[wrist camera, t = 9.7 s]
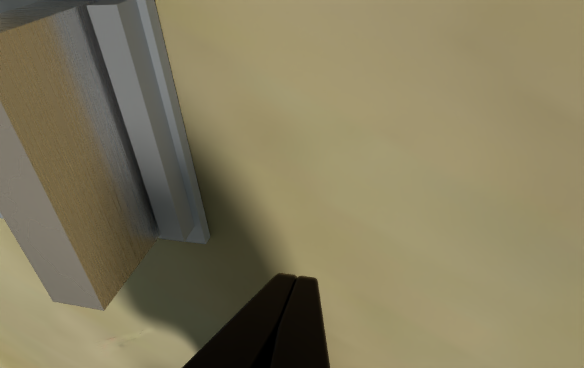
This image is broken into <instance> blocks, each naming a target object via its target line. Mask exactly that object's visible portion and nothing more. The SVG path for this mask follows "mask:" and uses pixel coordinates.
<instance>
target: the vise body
mask: <svg viewBox="0 0 584 368" xmlns="http://www.w3.org/2000/svg"><path fill="white" fill-rule="evenodd" d="M50 1H91V0H0V13H2V12H5V11H9V10H12V9H16V8H19V7H22V6H26V5H29V4H32V3H36V2H50ZM95 1H96V2H95V3H92V4H89V5H86V6H87V9H88V12H89V15H90V18H91V21H92V24H93V27H94V30H95V33H96V36H97V39H98V43H99V46H100V49H101V52H102V55H103V58H104V61H105V64H106V67H107V70H108V73H109V76H110V79H111V83H112V86H113V89H114V92H115V95H116V98H117V101H118V104H119V107H120V110H121V113H122V116H123V119H124V122H125V126H126V129H127V132H128V135H129V138H130V141H131V144H132V147H133V150H134V153H135V156H136V159H137V162H138V166H139V169H140V172H141V175H142V178H143V181H144V184H145V187H146V190H147V193H148V196H149V199H150V202H151V205H152V209H153V212H154V215H155V218H156V221H157V224H158V227H159V230H160V233H161V235H160V236H159V238H161V239H167V240H175V241H183V242H193V243H200V244H206V243H207V241H208V240H209V238H210V233H209V229H208V225H207V220H206V216H205V212H204V208H203V203H202V199H201V195H200V191H199V187H198V182H197V178H196V174H195V170H194V165H193V161H192V157H191V153H190V149H189V144H188V140H187V136H186V132H185V127H184V123H183V119H182V115H181V111H180V106H179V102H178V98H177V94H176V89H175V85H174V81H173V77H172V73H171V68H170V64H169V60H168V56H167V51H166V47H165V43H164V39H163V35H162V30H161V26H160V22H159V18H158V13H157V9H156V5H155V1H154V0H95ZM0 218H3V216H2V214H1V213H0Z"/></svg>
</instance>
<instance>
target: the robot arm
mask: <svg viewBox="0 0 584 368" xmlns="http://www.w3.org/2000/svg"><path fill="white" fill-rule="evenodd" d="M182 368H330V363H329V357H328V350H327V343H326V336H325V329H324V322H323V315H322V308H321V301H320V294H319V287H318V281H317V279H316V278H313V277H306V276H299V277H298V278H297V276H295V275H291V274H284V273H279V274H277V275H275V276H274V277H273V278H272V279H271V280H270V281H269V282H268V283H267V284H266V285H265V286H264V287H263V288H262V289H261V290H260V291H259V292H258V293H257V294H256V295H255V296H254V297H253V298H252V299H251V300H250V301H249V302H248V303H247V304H246V305H245V306H244V307H243V308H242V309H241V310H240V311H239V312H238V313H237V314H236V315H235V316H234V317H233V318H232V319H231V320H230V321H229V322H228V323H227V324H226V325H225V326H224V327H223V328H222V329H221V330H220V331H219V332H218V333H217V334H216V335H215V336H214V337H213V338H212V339H211V340H210V341H209V342H208V343H207V344H206V345H205V346H204V347H203V348H202V349H201V350H199V351H198V352H197V353H196V354H195V355H194V356H193V357H192V358H191V359H190V360H189V361H188V362H187V363H186V364H185V365H184V366H183V367H182Z"/></svg>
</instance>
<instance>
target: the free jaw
mask: <svg viewBox="0 0 584 368" xmlns="http://www.w3.org/2000/svg"><path fill="white" fill-rule="evenodd" d="M95 2H96V1H95V0H91V1H50V2H36V3H32V4H29V5H26V6H22V7H19V8H16V9H12V10H9V11H5V12H2V13H0V213H1V214H2V216H3V218H4V220H5V221H6V223H7V225H8V226H9V228H10V230H11V231H12V233H13V235H14V236H15V238H16V240H17V241H18V243H19V245H20V247H21V248H22V250H23V252H24V253H25V255H26V257H27V258H28V260H29V262H30V263H31V265H32V267H33V268H34V270H35V272H36V274H37V275H38V277H39V279H40V280H41V282H42V284H43V285H44V287H45V289H46V290H47V292H48V294H49V295H50V297H51V299H52V301H53V302H59V303H65V304H70V305H76V306H81V307H87V308H92V309H98V310H105V309H106V308H107V306H108V305H109V304H110V302H111V301H112V300H113V298H114V297H115V296H116V294H117V293H118V291H119V290H120V289H121V287H122V286H123V285H124V283H125V282H126V281H127V279H128V278H129V277H130V275H131V274H132V273H133V271H134V270H135V269H136V267H137V266H138V265H139V263H140V262H141V261H142V259H143V258H144V257H145V255H146V254H147V253H148V251H149V250H150V248H151V247H152V246H153V244H154V243H155V242H156V240H157V239H158V238H159V236H160V235H161V233H160V230H159V227H158V224H157V221H156V218H155V215H154V212H153V209H152V205H151V202H150V199H149V196H148V193H147V190H146V187H145V184H144V181H143V178H142V175H141V172H140V169H139V166H138V162H137V159H136V156H135V153H134V150H133V147H132V144H131V141H130V138H129V135H128V132H127V129H126V126H125V122H124V119H123V116H122V113H121V110H120V107H119V104H118V101H117V98H116V95H115V92H114V89H113V86H112V83H111V79H110V76H109V73H108V70H107V67H106V64H105V61H104V58H103V55H102V52H101V49H100V46H99V43H98V39H97V36H96V33H95V30H94V27H93V24H92V21H91V18H90V15H89V12H88V9H87V6H86V5H89V4H92V3H95Z"/></svg>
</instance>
